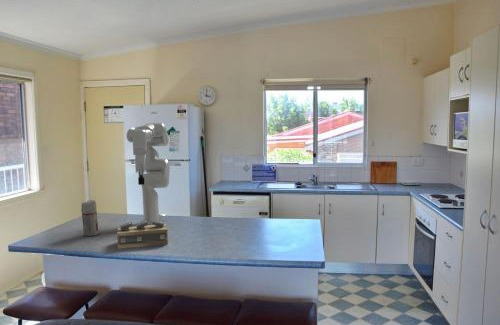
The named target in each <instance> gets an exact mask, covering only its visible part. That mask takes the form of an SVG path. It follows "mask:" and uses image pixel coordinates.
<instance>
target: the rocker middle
mask: <svg viewBox="0 0 500 325" xmlns="http://www.w3.org/2000/svg"><path fill="white" fill-rule="evenodd" d="M140 225H144V226H147V225H149V224H148V221H144V222H142V223H140V222H139V223H136V224H135V226H136V227H137V229H138V228H141V227H140Z"/></svg>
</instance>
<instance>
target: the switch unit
mask: <svg viewBox="0 0 500 325" xmlns="http://www.w3.org/2000/svg"><path fill="white" fill-rule="evenodd" d="M139 223H142V222H139ZM140 227H141V228H138V229H137V227H136V225H133V226H132V227H129V228H128V226H124V229H123V230H121V228H120V226H119V227H117V237H116V238H117V239H116V240H117V250H118V249H128V248H129V249H130V248H140V247H150V246H151V247H153V246H160V245H161V246H162V245H168V244H169V242H168V239H169V238H168V236H169V235H168V234H169V233H168V227H167V223H164V226H163V227H162V226H160V223H156V225H152V224H148V225H147V226H144V225H140Z"/></svg>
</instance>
